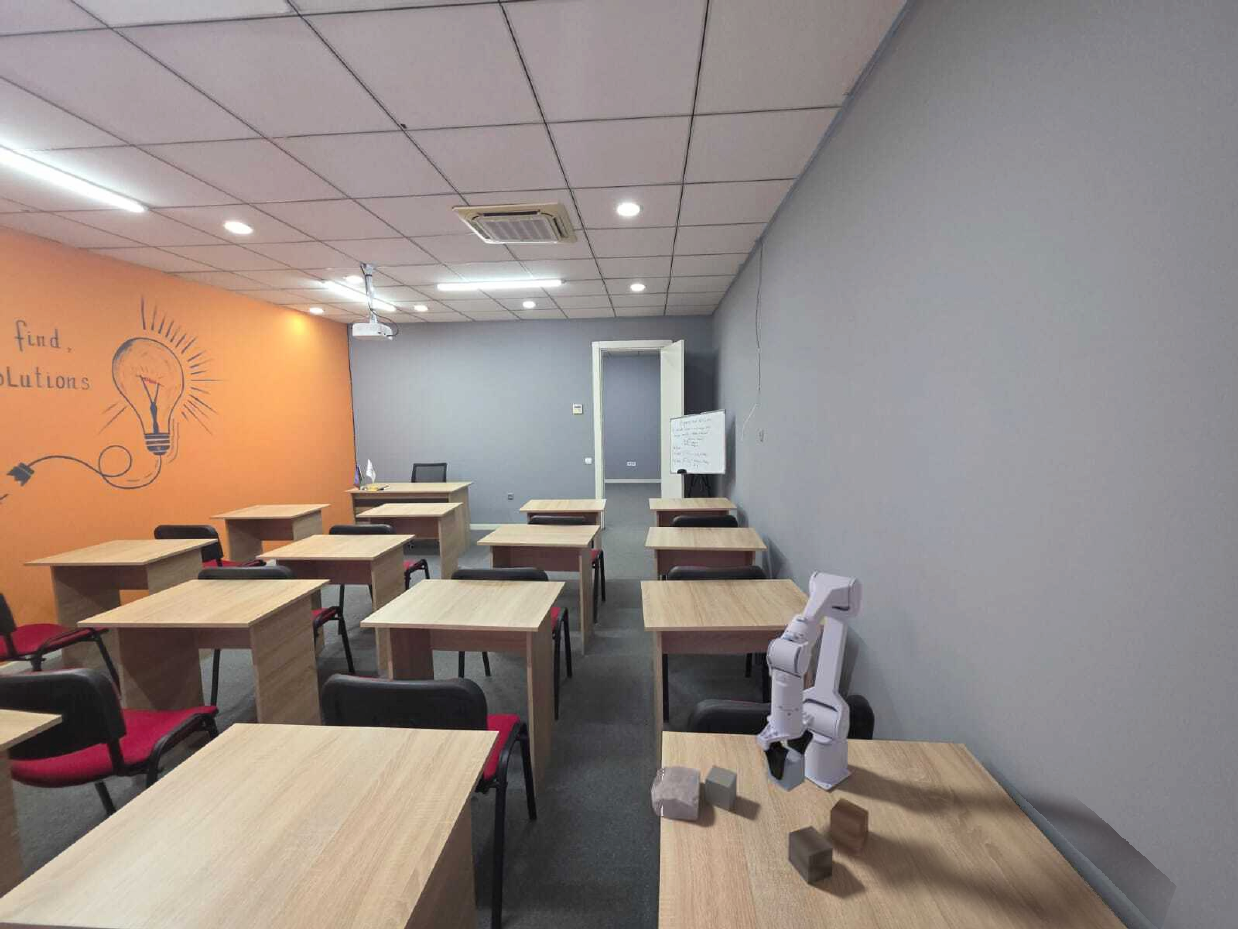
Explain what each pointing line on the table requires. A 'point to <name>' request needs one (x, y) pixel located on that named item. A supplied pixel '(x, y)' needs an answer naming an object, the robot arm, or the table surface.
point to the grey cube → (720, 787)
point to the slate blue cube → (790, 770)
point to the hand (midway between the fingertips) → (785, 771)
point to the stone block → (677, 793)
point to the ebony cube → (810, 854)
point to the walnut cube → (849, 824)
